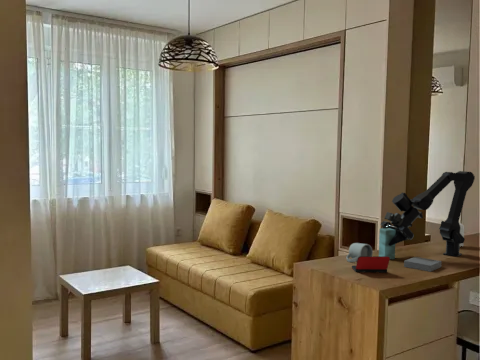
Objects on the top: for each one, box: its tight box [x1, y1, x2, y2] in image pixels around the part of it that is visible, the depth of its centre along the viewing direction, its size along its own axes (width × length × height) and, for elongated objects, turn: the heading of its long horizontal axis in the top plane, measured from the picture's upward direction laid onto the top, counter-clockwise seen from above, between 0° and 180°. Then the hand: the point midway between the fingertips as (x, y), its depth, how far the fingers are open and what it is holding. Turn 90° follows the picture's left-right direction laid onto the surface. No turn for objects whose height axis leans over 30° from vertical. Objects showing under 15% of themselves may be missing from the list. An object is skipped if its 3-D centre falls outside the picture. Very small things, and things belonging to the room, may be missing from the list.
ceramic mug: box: [345, 242, 374, 263], centre depth 201 cm, size 11×8×8 cm
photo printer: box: [459, 222, 465, 248], centre depth 233 cm, size 10×4×12 cm, turn 123°
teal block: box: [378, 227, 396, 260], centre depth 206 cm, size 5×5×13 cm
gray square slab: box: [403, 256, 442, 272], centre depth 191 cm, size 11×11×2 cm
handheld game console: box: [351, 255, 391, 274], centre depth 183 cm, size 12×11×7 cm
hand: (384, 243), depth 206 cm, fingers open, 7 cm apart
